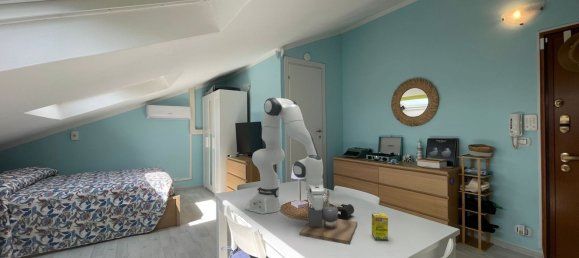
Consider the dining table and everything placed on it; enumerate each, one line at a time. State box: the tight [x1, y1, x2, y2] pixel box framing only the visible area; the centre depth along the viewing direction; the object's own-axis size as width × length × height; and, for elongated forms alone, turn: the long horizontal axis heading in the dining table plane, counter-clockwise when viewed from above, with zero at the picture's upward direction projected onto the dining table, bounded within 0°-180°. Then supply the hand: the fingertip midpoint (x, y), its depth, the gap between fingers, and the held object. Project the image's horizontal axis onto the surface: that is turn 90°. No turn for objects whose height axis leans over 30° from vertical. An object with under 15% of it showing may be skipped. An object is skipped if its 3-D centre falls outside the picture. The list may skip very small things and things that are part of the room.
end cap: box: [336, 203, 355, 220], centre depth 143 cm, size 10×7×7 cm
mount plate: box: [298, 219, 358, 245], centre depth 126 cm, size 24×24×6 cm
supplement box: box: [371, 212, 389, 242], centre depth 116 cm, size 6×6×11 cm
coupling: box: [307, 205, 339, 226], centre depth 126 cm, size 15×8×8 cm, turn 90°
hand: (314, 212), depth 128 cm, fingers closed
